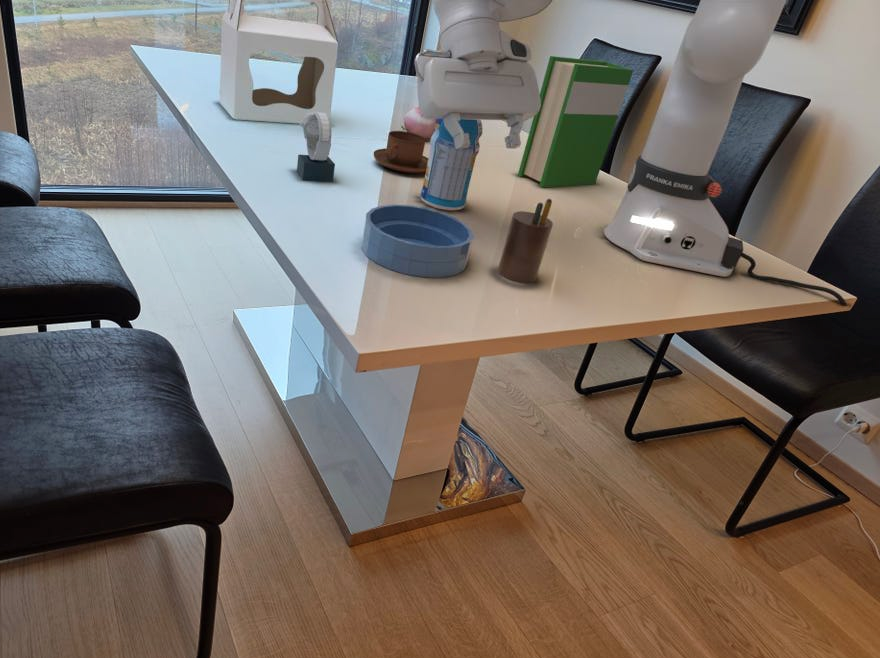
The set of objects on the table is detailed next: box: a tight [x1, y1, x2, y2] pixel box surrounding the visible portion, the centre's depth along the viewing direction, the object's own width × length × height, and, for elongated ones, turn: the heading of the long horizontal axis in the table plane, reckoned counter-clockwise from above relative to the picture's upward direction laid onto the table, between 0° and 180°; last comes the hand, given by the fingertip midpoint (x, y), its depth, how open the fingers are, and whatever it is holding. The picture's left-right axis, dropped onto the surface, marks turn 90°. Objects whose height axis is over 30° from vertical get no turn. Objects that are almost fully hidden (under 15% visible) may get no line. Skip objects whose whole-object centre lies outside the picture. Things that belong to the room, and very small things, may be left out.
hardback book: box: [517, 55, 634, 189], centre depth 140 cm, size 18×7×24 cm, turn 126°
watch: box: [296, 112, 336, 182], centre depth 116 cm, size 6×8×11 cm
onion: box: [400, 106, 436, 140], centre depth 155 cm, size 8×8×7 cm
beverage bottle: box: [420, 119, 483, 211], centre depth 114 cm, size 8×8×20 cm
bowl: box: [361, 204, 474, 279], centre depth 95 cm, size 15×15×5 cm
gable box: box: [219, 0, 339, 125], centre depth 144 cm, size 22×13×28 cm, turn 115°
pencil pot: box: [497, 198, 554, 284], centre depth 93 cm, size 6×6×12 cm
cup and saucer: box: [373, 130, 429, 174], centre depth 132 cm, size 12×12×6 cm
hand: (489, 147), depth 97 cm, fingers open, 8 cm apart
